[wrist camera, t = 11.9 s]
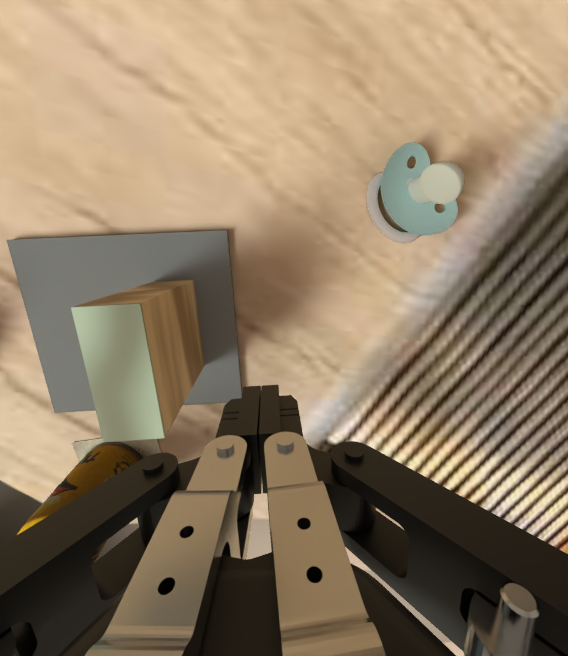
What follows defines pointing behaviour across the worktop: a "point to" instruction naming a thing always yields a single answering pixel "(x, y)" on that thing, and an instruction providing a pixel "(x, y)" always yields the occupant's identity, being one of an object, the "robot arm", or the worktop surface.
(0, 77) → the worktop surface
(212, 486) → the robot arm
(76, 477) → the condiment
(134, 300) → the block
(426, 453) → the worktop surface
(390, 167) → the pacifier
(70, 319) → the mat
